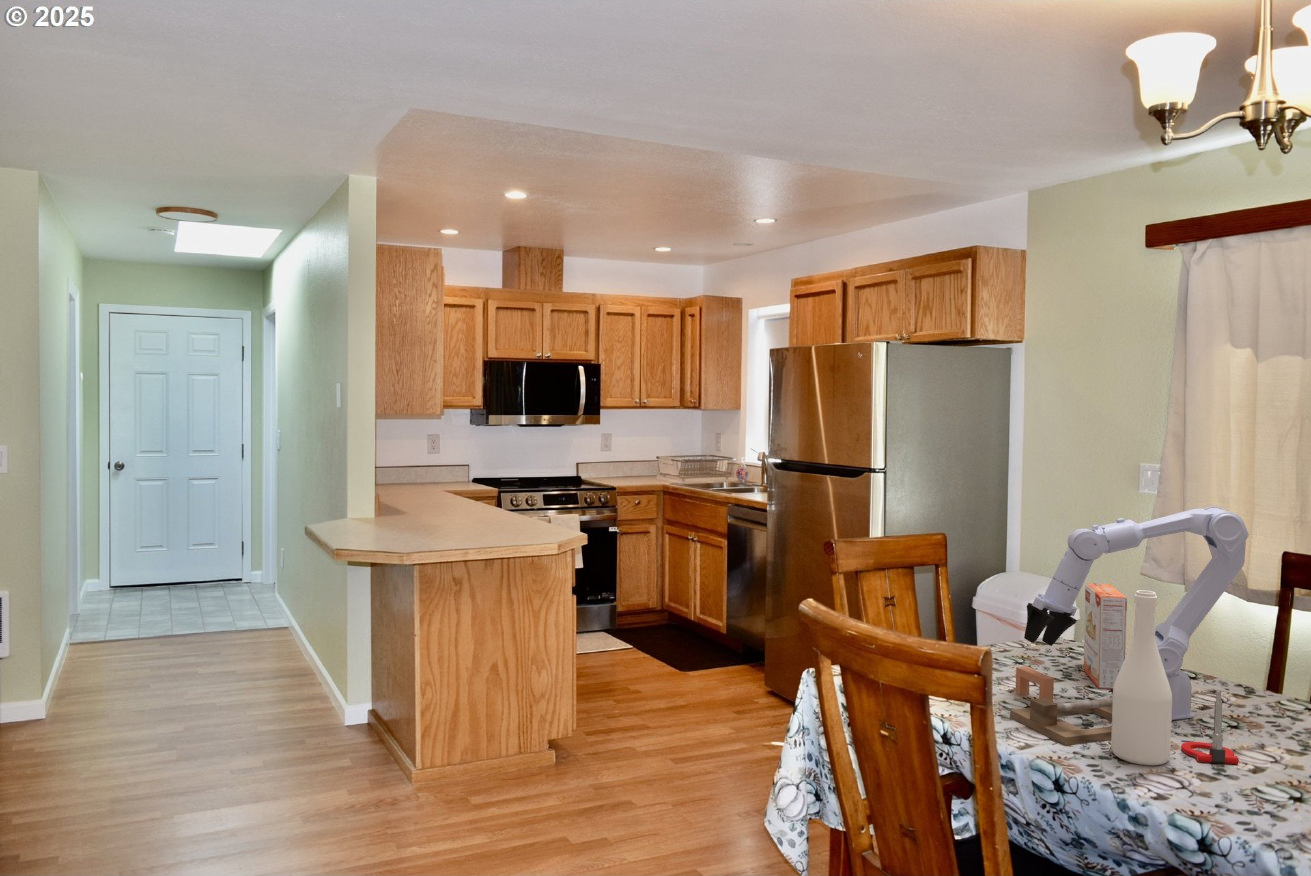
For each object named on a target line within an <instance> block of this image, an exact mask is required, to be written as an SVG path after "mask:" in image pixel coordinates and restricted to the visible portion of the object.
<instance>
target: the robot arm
mask: <svg viewBox="0 0 1311 876" xmlns="http://www.w3.org/2000/svg"><path fill="white" fill-rule="evenodd" d="M1115 521H1116V522H1112V523H1107V524H1102V525H1099V524H1093V525H1091V528H1092V529H1090V528H1078V529H1075V530H1074V531H1073V532H1072V533H1071V534H1068V536H1067V546H1068V547H1067V548H1066V550H1065V551H1064V552H1065V553H1064V554H1063V556H1062V558H1061V559H1060V561H1059V564H1058V565H1057V567H1056V570H1055V572H1054V574H1053V576H1052V578H1051V580H1050V582H1049V584H1048V586H1047V588H1046V590H1045V592H1044V594H1043V593H1038V595H1037V596H1036V597H1035V598H1034V600H1033V602H1032V603H1031V602H1028V603H1027V604H1026V611H1027V618H1026V625H1025V629H1024V630H1025V631H1024V636H1023V639H1025V640H1026V641H1028V642H1030V643H1031V644H1034V643H1036V641H1038V639H1039V637H1040V636H1041V634H1042V633H1043V631H1044V633H1043V634H1042V638H1041V640H1042V641H1041V642H1043V643H1045V644H1047V645H1049V646H1050V647H1052V646H1054V644H1055V643H1056V642H1057V641H1058V640H1059V638H1060V637H1061V636H1062V635H1063V634H1064V633H1065V632H1066V631H1067V630H1068V629H1070V628H1071V627H1072V626H1074V625H1075V624H1076V623H1077V621H1078V620H1077V619H1076V618H1075V617H1074V616H1075V615H1076V612H1077V611H1078V608H1077V606H1075V605H1074V604H1075V602H1076V599H1077V598H1078V595H1079V593H1080V592H1081V589H1082V587H1083V585H1084V583H1085V581H1086V579H1087V577H1088V575H1089V573H1090V570H1091V568H1092V566H1093V563H1094V562H1095V561H1096V560H1097V559H1099V558H1100V557H1102V555H1103V554H1112V553H1116V552H1120V551H1125V550H1129V549H1134V548H1137V547H1140V544H1141V543H1142V542H1143V541H1144V540H1146V539H1151V538H1157V537H1164V536H1168V535H1174V534H1178V533H1184V532H1185V533H1186V532H1187V533H1192V534H1195V535H1198V536H1202V537H1203V538H1204V540H1205V541H1206V543H1207V545H1208V549H1209V552H1210V555H1211V559H1210V560H1209V562H1208V563H1207V565H1206V566H1205V567H1204V569H1203V570H1202V571H1201V573H1199V575H1198V576H1197V578H1196V579H1195V581H1194V582H1193V583H1192V585H1191V586H1190V587H1189V588H1188V589H1187V591H1186V593H1185V594H1184V596H1182V598H1181V599H1180V601H1179V602H1178V604H1177V605H1176V606H1175V607H1174V609H1173V610H1172V611H1171V613H1170V614H1169V616H1168V617H1167V618H1166V620H1164V621H1163V622H1161V623H1160V624H1158V625H1155V639H1156V644H1157V648H1158V651H1159V654H1160V657H1161V661H1162V664H1163V667H1164V670H1165V673H1166V676H1167V679H1168V682H1169V685H1170V689H1171V693H1172V718H1171V721H1174V720H1175V721H1176V720H1183V719H1191V718H1192V719H1194V717H1195V714H1192V713H1191V712H1192V710H1191V709H1192V687H1193V686H1192V682H1191V679H1190V677H1189V675H1188V674H1187V673H1186V672H1185V671H1183V670H1181V668H1182V666H1183V662H1184V657H1185V655H1186V652H1188V650H1189V647H1190V646H1189V645H1190V639H1191V637H1192V635H1193V634H1194V633H1195V632H1196V630H1197V628H1198V627H1199V626H1200V625H1201V623H1202V622H1203V621H1204V620H1205V618H1206V616H1207V615H1208V614H1209V613H1210V611H1211V610H1212V608H1213V607H1214V606H1215V605H1216V603H1217V602H1218V601H1219V600H1220V598H1221V596H1222V595H1223V594H1224V592H1225V591H1226V590H1227V589H1228V587H1229V586H1230V584H1232V582H1233V581H1234V579H1235V578H1236V577H1237V575H1238V574H1239V573H1240V571H1241V570H1242V568H1243V567H1244V566H1245V561H1246V560H1245V559H1246V547H1247V546H1246V545H1247V539H1248V538H1249V536H1250V534H1249V531H1248V529H1247V527H1246V524H1245V522H1244V520H1243V518H1242V517H1241V516H1240V515H1239V514H1237V513H1235V512H1232V511H1229V510H1228V511H1227V510H1226V509H1223V508H1222V507H1219V506H1208V507H1204V508H1203V507H1202V508H1193V509H1189V510H1184V511H1180V512H1177V513H1174V514H1169V515H1166V516H1163V517H1158V518H1155V519H1151V520H1148V521H1143V522H1140V523H1138V522H1135V521H1133V520H1132V519H1128V518H1127V519H1125V518H1123V517H1119V518H1116V520H1115Z"/></svg>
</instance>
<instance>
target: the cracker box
mask: <svg viewBox="0 0 1311 876" xmlns="http://www.w3.org/2000/svg"><path fill="white" fill-rule="evenodd" d="M1084 585H1085V590H1084V591H1085V592H1084V595H1085V596H1084V636H1083V637H1084V640H1083V641H1084V642H1083V671H1084V672H1085V673H1086V675H1087V676H1088V677H1089V678H1090V679H1091V681H1092V682H1093V684H1094V686H1095V687H1097V689H1098V690H1113V687H1114V684H1115V681H1116V678H1117V676H1118V674H1119V671H1120V669H1121V667H1122V665H1123V662H1124V660H1125V657H1126V644H1127V641H1126V640H1127V611H1128V609H1127V607H1128V605H1127V604H1128V597H1126V596H1125V595H1124V594H1123V593H1122V592H1120V591H1119V590H1118V589H1117V588H1116V587H1114V586H1113V585H1112V584H1110V583H1109V584H1108V583H1091V582H1090V583H1089V582H1088V583H1085V584H1084Z"/></svg>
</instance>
